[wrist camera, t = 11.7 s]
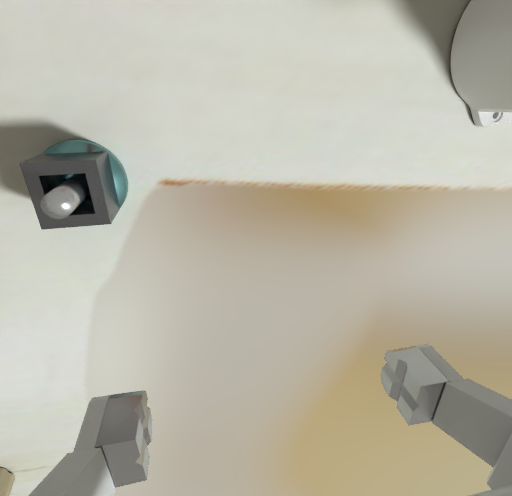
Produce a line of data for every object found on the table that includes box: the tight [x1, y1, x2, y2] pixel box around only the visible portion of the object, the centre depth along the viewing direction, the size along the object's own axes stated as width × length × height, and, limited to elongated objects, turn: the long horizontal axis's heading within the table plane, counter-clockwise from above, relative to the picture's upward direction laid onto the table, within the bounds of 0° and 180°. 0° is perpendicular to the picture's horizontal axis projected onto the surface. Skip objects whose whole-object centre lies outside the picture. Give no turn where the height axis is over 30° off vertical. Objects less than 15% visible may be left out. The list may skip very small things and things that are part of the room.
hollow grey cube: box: [20, 151, 120, 229], centre depth 32 cm, size 6×6×5 cm
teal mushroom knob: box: [41, 139, 128, 219], centre depth 31 cm, size 9×9×9 cm
